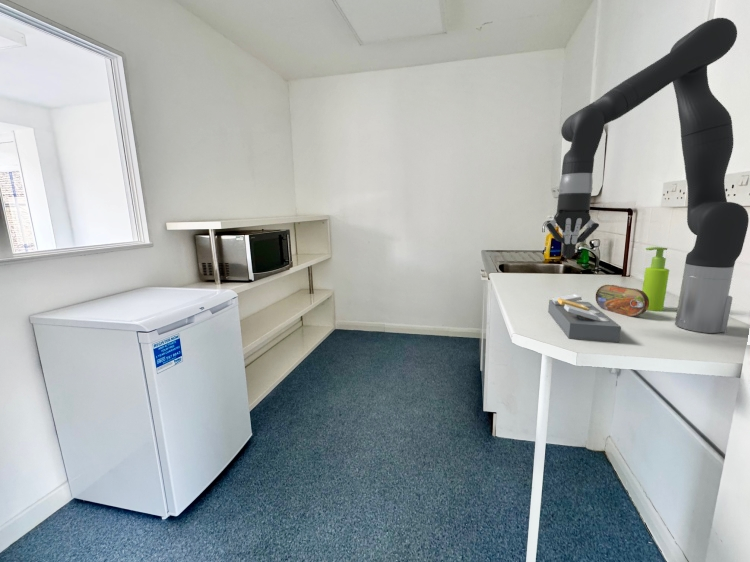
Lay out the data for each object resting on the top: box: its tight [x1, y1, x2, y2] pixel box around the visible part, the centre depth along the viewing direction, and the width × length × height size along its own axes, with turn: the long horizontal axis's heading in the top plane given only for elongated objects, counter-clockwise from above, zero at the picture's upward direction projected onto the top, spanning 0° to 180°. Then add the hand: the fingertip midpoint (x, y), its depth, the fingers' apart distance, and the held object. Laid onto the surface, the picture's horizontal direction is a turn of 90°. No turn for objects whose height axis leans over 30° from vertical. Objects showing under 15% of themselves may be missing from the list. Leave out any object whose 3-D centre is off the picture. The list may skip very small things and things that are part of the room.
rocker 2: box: [558, 298, 589, 311], centre depth 95 cm, size 7×4×1 cm, turn 75°
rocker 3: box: [564, 304, 598, 320], centre depth 89 cm, size 7×4×1 cm, turn 75°
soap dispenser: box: [641, 246, 670, 312], centre depth 109 cm, size 6×7×20 cm
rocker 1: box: [551, 293, 582, 305], centre depth 102 cm, size 7×4×1 cm, turn 75°
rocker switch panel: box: [547, 299, 622, 343], centre depth 95 cm, size 11×24×5 cm, turn 165°
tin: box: [595, 284, 649, 317], centre depth 107 cm, size 15×3×8 cm, turn 20°
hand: (567, 257), depth 93 cm, fingers closed
